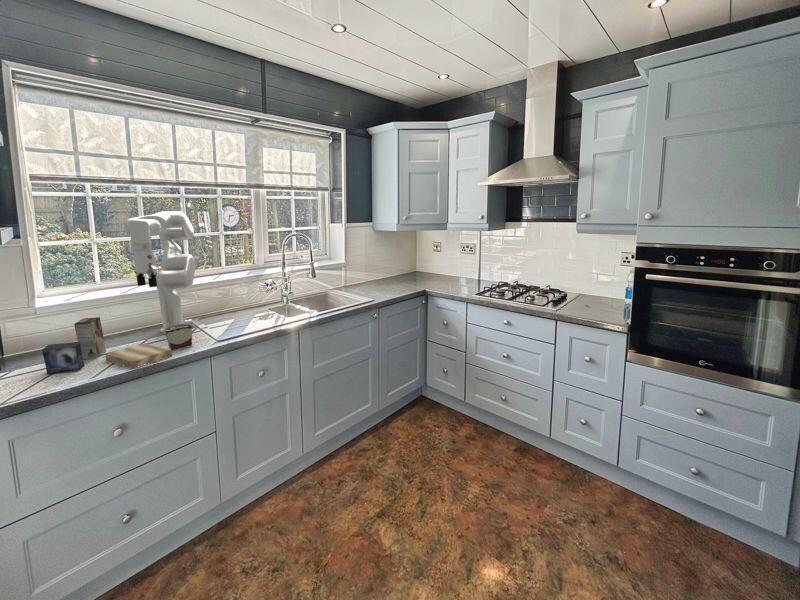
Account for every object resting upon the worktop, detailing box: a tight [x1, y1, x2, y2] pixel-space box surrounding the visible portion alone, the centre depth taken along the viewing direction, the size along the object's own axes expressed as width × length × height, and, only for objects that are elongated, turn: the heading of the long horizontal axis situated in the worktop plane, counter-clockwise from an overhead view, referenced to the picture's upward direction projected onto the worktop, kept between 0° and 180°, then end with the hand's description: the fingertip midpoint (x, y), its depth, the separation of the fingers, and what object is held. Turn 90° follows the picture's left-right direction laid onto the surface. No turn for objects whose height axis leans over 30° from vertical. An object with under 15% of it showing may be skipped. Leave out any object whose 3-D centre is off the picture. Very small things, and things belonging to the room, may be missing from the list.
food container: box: [163, 323, 194, 352], centre depth 184 cm, size 12×6×10 cm, turn 141°
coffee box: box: [73, 316, 107, 360], centre depth 173 cm, size 9×6×16 cm
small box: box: [41, 341, 85, 375], centre depth 158 cm, size 11×6×10 cm, turn 114°
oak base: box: [105, 342, 173, 369], centre depth 171 cm, size 16×20×3 cm
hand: (147, 286), depth 181 cm, fingers open, 9 cm apart
